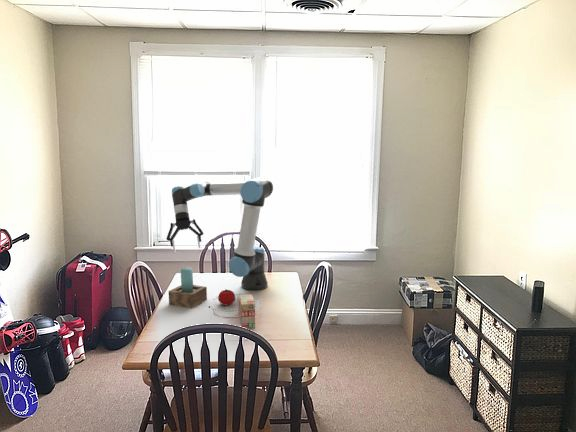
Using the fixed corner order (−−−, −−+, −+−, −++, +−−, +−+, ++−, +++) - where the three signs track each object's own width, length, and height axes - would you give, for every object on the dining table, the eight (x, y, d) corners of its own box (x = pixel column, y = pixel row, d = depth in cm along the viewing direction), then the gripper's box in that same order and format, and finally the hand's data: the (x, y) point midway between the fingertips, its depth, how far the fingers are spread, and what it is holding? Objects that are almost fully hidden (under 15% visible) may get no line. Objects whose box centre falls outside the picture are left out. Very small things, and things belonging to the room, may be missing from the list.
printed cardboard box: (238, 312, 250) (237, 289, 248) (250, 311, 251) (250, 288, 249) (241, 329, 230) (241, 304, 227) (255, 328, 231) (255, 303, 228)
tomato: (214, 304, 262) (214, 289, 260) (227, 299, 268) (227, 285, 267) (225, 308, 256) (225, 293, 254) (238, 303, 262) (238, 289, 261)
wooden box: (206, 299, 268) (206, 286, 267) (191, 308, 256) (191, 294, 254) (185, 296, 274) (184, 283, 273) (169, 304, 261) (168, 291, 260)
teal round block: (195, 290, 265) (194, 268, 263) (188, 293, 260) (187, 271, 258) (186, 288, 268) (185, 266, 265) (179, 292, 262) (178, 269, 260)
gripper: (204, 211, 288) (210, 247, 282) (160, 219, 284) (165, 255, 279) (203, 207, 281) (209, 244, 275) (158, 215, 277) (163, 252, 272)
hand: (187, 249), depth 277 cm, fingers open, 13 cm apart
